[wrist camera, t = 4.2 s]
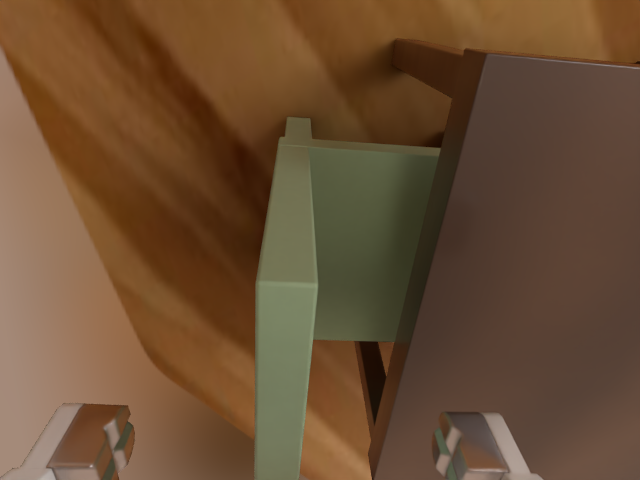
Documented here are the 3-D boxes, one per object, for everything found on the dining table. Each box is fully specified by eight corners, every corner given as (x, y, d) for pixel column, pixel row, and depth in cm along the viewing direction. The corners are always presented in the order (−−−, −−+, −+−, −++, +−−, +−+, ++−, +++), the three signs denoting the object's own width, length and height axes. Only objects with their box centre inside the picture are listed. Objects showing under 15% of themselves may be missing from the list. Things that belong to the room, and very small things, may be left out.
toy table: (347, 322, 28) (372, 484, 18) (392, 33, 19) (486, 52, 9) (538, 329, 29) (656, 485, 19) (664, 58, 20) (997, 100, 10)
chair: (277, 273, 25) (253, 544, 12) (283, 112, 20) (255, 282, 7) (430, 280, 26) (558, 541, 13) (472, 126, 21) (742, 302, 8)
